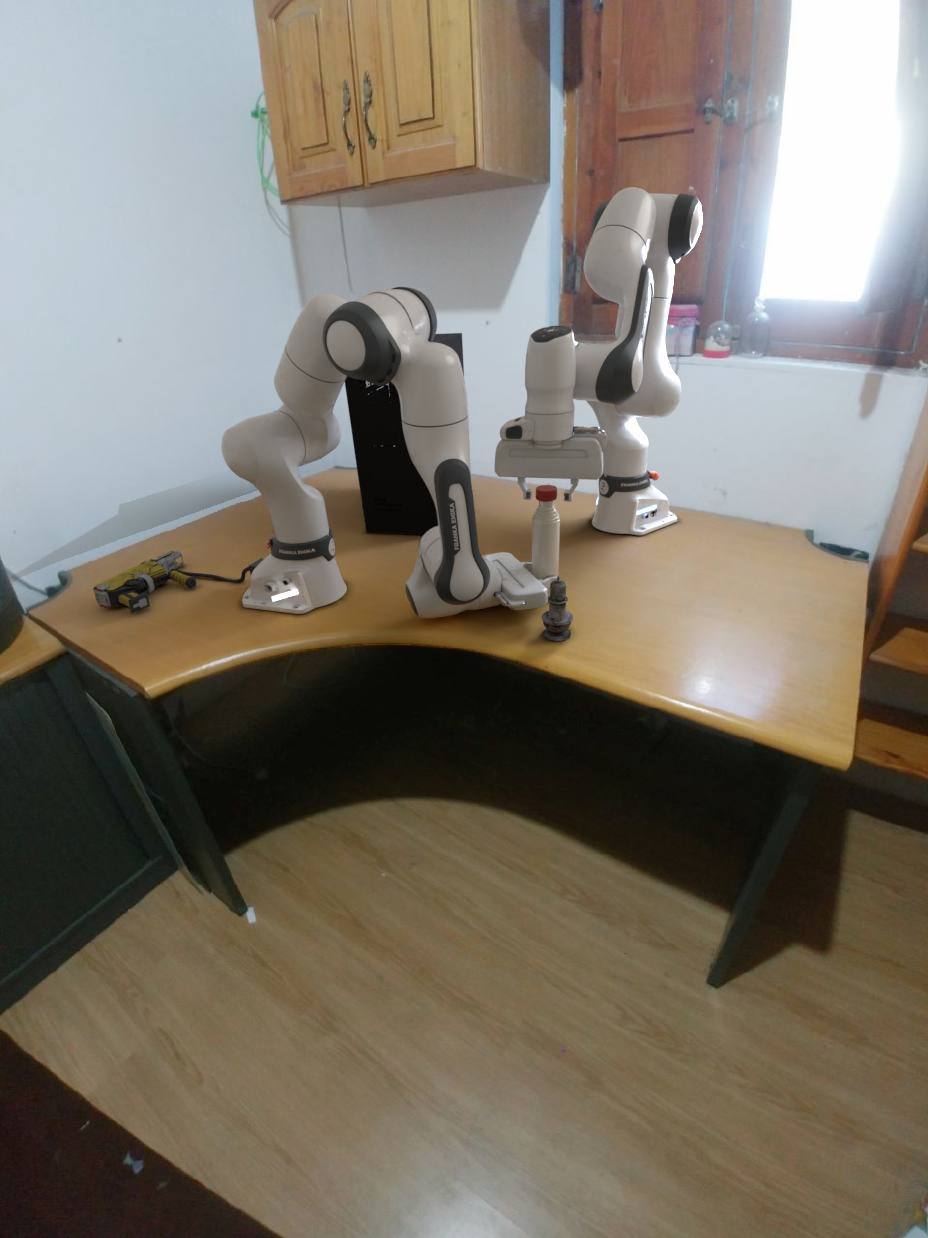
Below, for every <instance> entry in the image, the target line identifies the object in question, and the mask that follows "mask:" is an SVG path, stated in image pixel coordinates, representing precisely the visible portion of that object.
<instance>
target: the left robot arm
mask: <svg viewBox="0 0 928 1238" xmlns="http://www.w3.org/2000/svg"><path fill="white" fill-rule="evenodd" d="M437 330H438V317H437V312H436V309H435V308H434V305H433V303H432V301H431V300H430V298H429V297H428V296H427V295H426V294H424V293H423V292H421V290H418V289H415V288H414V287H413V288H412V287H408V286H397V287H393V288H390V289H383V290H382V289H381V290H377V291H373V292H370V293H368V294H366V295H364V296H362V297H358V298H357V299H354V300H353V301H348V300H346V299H345V298H344V297H342V296H341V295H338V294H335V293H331V292H320V293H316V294H314V295H313V296H311V297H310V298H309V299H308V300H307V302H306V303H305V305H304V306H303V308H302V310H301V311H300V312H299V315H298V316H297V318H296V320H295V322H294V324H293V325H292V328H291V330H290V332H289V334H288V337H287V339H286V343H285V346H284V348H283V351H282V354H281V357H280V359H279V362H278V365H277V367H276V370H275V374H274V376H273V377H274V378H273V386H274V389H275V392H276V394H277V396H278V398H279V399H280V401H281V403H283V404H281V406H280V407H279V408H277V409H276V410H273V411H271V412H266V413H263V414H259V415H256V416H252V417H247V418H245V419H243V420H241V421H239V422H237V423H236V424H234V425H232V426H231V427H229V428H227V429H226V430H225V431H224V433H223V435H222V438H221V442H220V443H221V447H220V449H221V455H222V457H223V461H224V462H225V465H227V467H228V468H229V470H230V471H232V472H233V474H234V475H236V476H237V477H239V478H240V479H243V480H245V481H247V482H248V483H250V484H251V485H253V486H254V488H256V489H257V491H258V492H259V493H260V494H261V496H262V497H263V500H264V501H265V504H266V505H267V509H268V512H269V515H270V516H269V517H270V520H271V523H272V527H273V532H272V536H271V537H269V539H268V541H267V543H266V544H265V547H266V548H265V549H266V550H267V551H268V550H269V549H270V553H268V554H267V555H266V556H265V557H264V558H263V557H260V558H258V559H257V560H255V561H253V562H252V563H250V564H248V565H247V567H244V568H243V569H242V570H241V574H240V577H239V578H237V579H232V578H227V577H224V576H220V575H217V574H211V573H202V572H201V573H200V572H190V571H183V570H179V569H172V570H171V571H177V572H179V573H182V574H184V575H187V576H189V577H193V578H206V579H214V580H219V581H222V582H226V583H233V584H234V583H235V584H240V583H242V582H244V581H245V578H246V574H247V573H248V572H249V574H250V578H249V587H248V588H247V589H246V591H245V592H244V594H243V595H242V598H241V604H242V606H243V608H246V609H247V608H248V609H255V610H261V611H262V610H263V611H270V612H279V613H287V614H294V615H295V614H296V615H303V614H306V613H308V612H311V611H312V610H315V609H317V608H320V607H321V608H322V607H324V606H327V605H331V604H333V603H334V602H336V601H338V600H340V599H341V598H342V597H344V596H345V595H346V593H347V591H348V587H347V586H348V585H346V582H345V580H344V579H343V576H342V573H341V571H340V567H339V565H338V563H337V562H338V561H337V559H336V546H335V540H334V536H333V532H332V529H331V528H330V527H329V520H328V514H327V509H326V502H325V499H324V496H323V494H322V493H321V492H320V491H319V490H318V489H317V488H315V487H314V486H311V485H309V484H306V483H304V482H303V480H302V477H301V475H300V473H299V468H300V467H302V466H305V465H308V464H310V463H313V462H316V461H319V460H322V459H323V458H324V457H326V456H327V455H329V454H330V453H331V452H333V451H335V449H336V448H338V446H339V445H340V441H341V436H342V435H341V434H342V431H341V426H340V423H339V420H338V418H337V416H336V414H335V413H334V409H335V408H334V407H335V405H336V402H337V400H338V398H339V395H340V393H341V391H342V389H343V386H344V385H345V380H346V377H347V376H348V377H351V378H355V379H359V380H365V381H368V382H370V383H372V384H375V385H377V386H383V387H384V386H385V385H389V384H388V383H389V382H392V383H393V384H394V385H395V387H396V389H397V391H398V394H399V399H400V406H401V417H402V426H403V433H404V438H405V442H406V445H407V449H408V452H409V455H410V458H411V460H412V462H413V464H414V466H415V467H416V469H417V471H418V472H419V474H420V475H421V477H422V479H423V480H424V482H425V484H426V486H427V487H428V489H429V491H430V494H431V496H432V498H433V501H434V504H435V507H436V511H437V518H438V526H435V527H433V528H431V529H429V530H428V531H427V532H426V533H425V534H424V535H421V538H420V540H419V542H418V551H417V558H416V561H415V565H414V568H413V571H412V573H411V575H410V577H409V578H408V579H407V580H406V581H405V588H404V589H405V594H406V598H407V600H408V602H409V605H410V607H411V609H412V611H413V613H414V615H416V616H417V617H418V618H421V619H437V618H444V617H449V616H453V615H454V616H455V615H458V614H459V613H462V612H464V611H477V610H478V611H479V610H483V609H487V608H488V609H489V608H492V607H497V606H500V605H502V607H508V608H509V609H510V610H515V611H525V610H532V609H539V608H544V607H546V605H547V604H548V590H547V589H548V588H549V587H550V584H551V582H552V581H554V580H557V577H556V576H555V575H550V576H547V579H545V580H542V579H540V580H537V579H536V578H535V577H534V576H533V575H532V561H531V562H529V561H519V560H518V559H517V558H516V557H515V556H514V555H513V554H512V553H510V552H506V551H505V552H504V551H503V552H495V553H488V554H484V555H482V553H481V551H480V546H479V538H478V529H477V518H476V509H475V501H474V493H473V485H472V468H471V449H470V448H471V446H470V445H471V443H470V417H469V404H468V393H467V387H466V381H465V375H464V376H463V371H462V367H461V363H460V359H459V357H458V355H457V353H456V352H455V351H454V350H453V349H452V348H450V347H448V346H446V345H444V344H441V343H436V342H432V341H433V339H434V337H435V334H437ZM383 380H385V381H383ZM381 381H383V382H381ZM145 562H146V561H143V562H141V563H140V564H139V565H141V564H143V563H145ZM171 571H170V572H171Z"/></svg>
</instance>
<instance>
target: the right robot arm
mask: <svg viewBox="0 0 928 1238" xmlns="http://www.w3.org/2000/svg"><path fill="white" fill-rule="evenodd" d="M702 226H703V211H702V203H701V202H700V200H699V198H698V196H696V195H692V194H689V193H688V194H687V193H684V192H681V193H679V194H674V193H661V192H660V193H658V192H657V193H656V192H655V193H649V192H648V191H646V190H645V189H644V188H640V187H635V186H629V187H626V188H623V189H621V190H619V191H618V192H616V193H615V194H614V196H612V197H611V198H609V199H607V200H604V201H603V202H601V203H600V204H599V206H598V207H597V208H596V209H595V210H594V212H593V216H592V218H591V225H590V240H589V242H588V245H587V248H586V251H585V253H584V259H583V274H584V277H585V280H586V282H587V284H588V285H589V287H590V289H592V291H593V292H594V293H595V294H597V295H598V296H599V297H600V298H602V299H604V300H606V301H610V302H613V303H615V304H618V307H617V308H618V309H617V315H616V317H617V318H616V323H615V330H614V334H615V338H616V340H614V341H612V342H610V343H584V342H583V343H582V342H579V341H578V340H577V341H576V340H575V334H574V330H573V329H572V328H571V327H569V326H566V325H550V326H546V327H541V328H539V329H536V330H535V331H533V332H532V333H531V334H530V335H529V338H528V341H527V347H526V354H525V365H524V387H525V391H526V402H525V405H524V415H521V416H519V417H516V418H513V419H509V420H508V421H506V422H505V423H503V425H502V426H501V427H500V430H499V437H500V440H499V442H498V443H497V445H496V448H495V453H494V473H495V474H496V476H498V477H500V478H517V485H518V486H519V488H520V489H521V491H522V492H523V494H522V495H523V500H524V501H530V500H532V499H533V488H529V487H528V485H527V483H526V481H527V479H555V480H557V479H558V480H560V479H561V480H570V485H571V486H570V488H569V489H565V490H564V492H563V502H572V501H573V497H574V496H573V495H574V492H575V490H576V488H577V487H578V485H579V483H580V480H594V481H597V480H598V492H599V493H598V495H597V498H596V502H595V505H596V507H595V511H594V514H593V517H592V520H591V525H592V526H593V527H594V528H595V529H597V530H599V531H601V532H605V533H611V534H623V535H625V534H626V535H632V536H633V535H634V536H645V535H646V534H650V533H652V532H654V531H657V530H660V529H662V528H665V527H668V526H670V525H672V524H675V523H677V522H678V516H677V515H676V514H675V513H674V512H672V511H670V503H669V502H670V501H669V498H668V497H667V496H666V495H665V494H664V493H663V492H661V491H660V490H659V489H658V488H656V487H655V486H654V485H652V483H651V480H653V481H658V479H659V478H660V473H659V472H657V471H654V470H651V471H649V470H648V469H647V466H648V458H649V457H648V455H649V446H650V443H649V437H647V436H648V435H647V434H646V433H645V432H644V431H643V430H642V428H641V427H640V426H639V424H638V420H637V418H641V419H659V418H667V417H668V416H670V415H671V414H672V413H673V412H675V410H676V408H678V406H679V404H680V401H681V399H682V390H683V389H682V383H681V380H680V378H679V377H678V375H677V374H676V373H675V371H674V370H673V369H672V366H671V364H670V361H669V358H668V354H667V353H668V352H667V345H666V335H667V328H668V327H667V326H668V321H669V320H668V319H669V313H670V306H671V301H672V296H673V290H674V289H673V287H674V280H675V279H674V277H675V265H677V264H678V263H679V262H680V260H681V258H684V257H685V256H687V255H688V254H689V253H690V252H691V251H692V249H693V248H694V247H695V245H696V243H697V241H698V238H699V237H700V235H701V234H700V233H701V231H702V228H703V227H702ZM574 400H576V401H586V403H587V404H588V406H589V407H590V408H591V409H592V411H593V413H594V415H595V418H596V420H597V423H598V426H577V425H576V426H575V402H574Z"/></svg>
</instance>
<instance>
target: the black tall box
mask: <svg viewBox="0 0 928 1238" xmlns="http://www.w3.org/2000/svg"><path fill="white" fill-rule="evenodd" d="M432 342H436V343H441V344H444V345H446V346H448V347H450V348H452V349H453V350H454V351H455V352H456V353H457V355H458V357H459V359H460V363H461V367H462V371H463V376H464V377H465V369H464V368H465V367H464V348H463V346H464V345H463V332H452V333H450V332H448V333H436V334H435V337H434V339H433V341H432ZM383 381H385V380H383ZM383 381H381V382H383ZM344 387H345V393H346V401H347V408H348V416H349V422H350V429H351V430H350V431H351V436H352V443H353V450H354V451H353V452H354V459H355V464H356V471H357V478H358V485H359V486H358V487H359V492H360V493H359V494H360V500H361V507H362V515H363V520H364V529H365V533H366V534H367V533H368V534H387V535H388V534H389V535H390V534H391V535H413V536H414V535H415V536H423V535H424V534H425V533H426V532H427V531H428V530H429V529H431V528H433V527H435V526H438V518H437V511H436V507H435V504H434V501H433V498H432V496H431V494H430V491H429V489H428V487H427V486H426V484H425V482H424V480H423V479H422V477H421V475H420V474H419V472H418V471H417V469H416V467H415V466H414V464H413V462H412V460H411V458H410V455H409V452H408V449H407V445H406V442H405V438H404V433H403V426H402V417H401V406H400V399H399V394H398V391H397V389H396V387H395V385H394V384H393V383H392V382H389V383H388V384H387V385H385V386H377V385H375V384H372V383H370V382H368V381H365V380H359V379H355V378H351V377H348V376H347V377H346V380H345V382H344Z"/></svg>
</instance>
